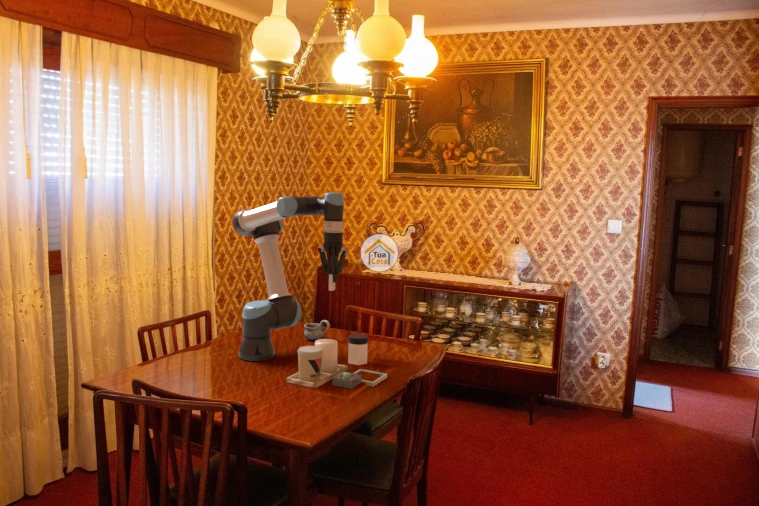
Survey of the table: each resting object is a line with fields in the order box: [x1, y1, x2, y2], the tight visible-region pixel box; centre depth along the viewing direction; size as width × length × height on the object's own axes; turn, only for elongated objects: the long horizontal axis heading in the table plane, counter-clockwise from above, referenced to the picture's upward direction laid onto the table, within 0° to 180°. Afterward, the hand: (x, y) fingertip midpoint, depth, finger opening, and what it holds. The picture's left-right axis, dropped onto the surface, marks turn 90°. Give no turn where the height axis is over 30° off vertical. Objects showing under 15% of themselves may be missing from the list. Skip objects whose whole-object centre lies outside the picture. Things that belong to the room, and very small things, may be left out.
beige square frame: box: [353, 368, 388, 387], centre depth 235 cm, size 12×12×2 cm
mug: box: [303, 319, 331, 341], centre depth 289 cm, size 10×12×10 cm
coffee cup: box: [297, 345, 323, 383], centre depth 228 cm, size 9×9×12 cm
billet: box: [314, 338, 339, 374], centre depth 239 cm, size 9×9×12 cm
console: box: [331, 371, 362, 390], centre depth 226 cm, size 8×8×4 cm
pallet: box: [285, 363, 349, 392], centre depth 235 cm, size 13×25×2 cm, turn 155°
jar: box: [347, 333, 369, 366], centre depth 253 cm, size 9×8×12 cm
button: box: [343, 371, 352, 378], centre depth 226 cm, size 3×3×4 cm
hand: (331, 290), depth 243 cm, fingers closed
